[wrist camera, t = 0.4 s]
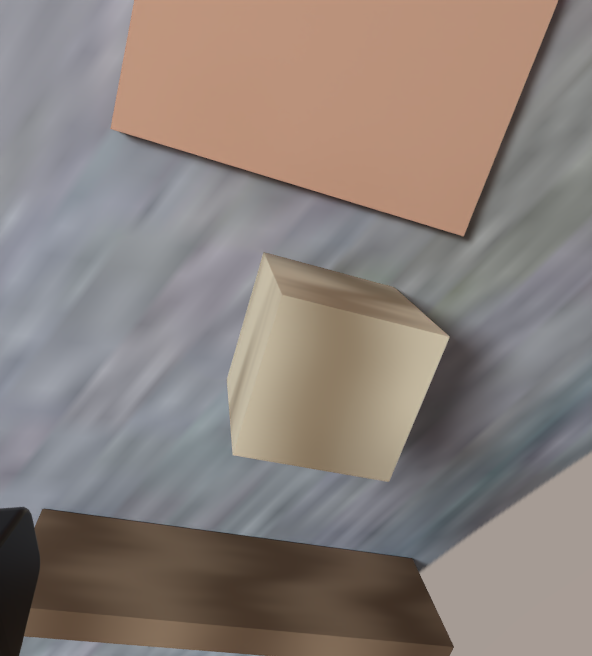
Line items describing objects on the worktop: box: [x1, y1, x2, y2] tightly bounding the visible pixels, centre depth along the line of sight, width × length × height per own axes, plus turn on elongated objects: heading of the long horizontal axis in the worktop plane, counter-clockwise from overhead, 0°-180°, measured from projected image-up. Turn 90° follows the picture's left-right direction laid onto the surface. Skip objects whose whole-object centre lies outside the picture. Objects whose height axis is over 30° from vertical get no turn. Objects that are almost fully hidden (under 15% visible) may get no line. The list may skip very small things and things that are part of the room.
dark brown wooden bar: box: [24, 509, 454, 656], centre depth 21 cm, size 16×4×4 cm, turn 73°
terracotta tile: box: [111, 0, 558, 236], centre depth 16 cm, size 12×10×1 cm
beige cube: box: [227, 252, 449, 482], centre depth 18 cm, size 5×5×5 cm
